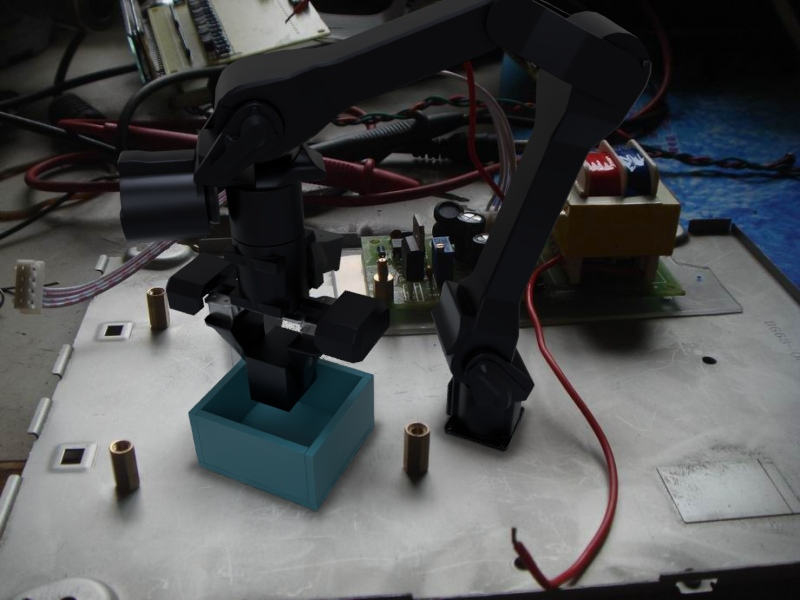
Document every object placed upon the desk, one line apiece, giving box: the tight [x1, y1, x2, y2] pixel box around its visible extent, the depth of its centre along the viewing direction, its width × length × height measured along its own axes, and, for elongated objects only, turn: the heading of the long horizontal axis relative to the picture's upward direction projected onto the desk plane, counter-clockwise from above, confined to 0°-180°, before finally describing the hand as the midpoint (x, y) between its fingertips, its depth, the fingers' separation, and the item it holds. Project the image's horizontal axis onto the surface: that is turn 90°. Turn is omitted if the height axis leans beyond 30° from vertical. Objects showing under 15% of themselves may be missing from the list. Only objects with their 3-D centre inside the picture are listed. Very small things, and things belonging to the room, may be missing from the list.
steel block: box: [245, 325, 317, 412], centre depth 67 cm, size 4×5×5 cm
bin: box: [187, 357, 375, 512], centre depth 70 cm, size 13×12×7 cm
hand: (283, 380), depth 67 cm, fingers closed on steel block, 4 cm apart
